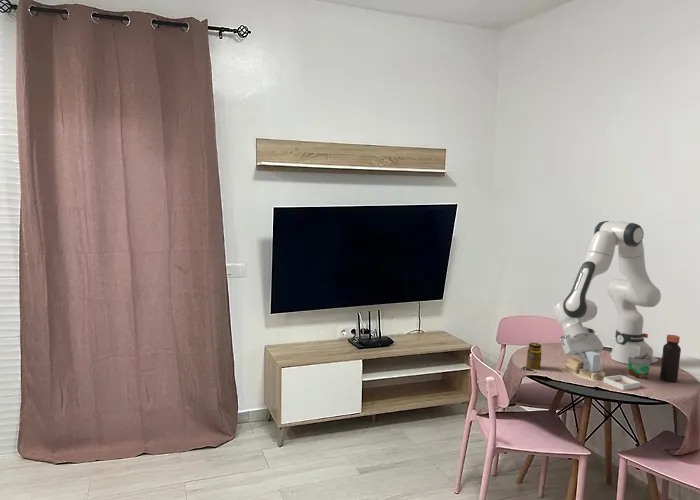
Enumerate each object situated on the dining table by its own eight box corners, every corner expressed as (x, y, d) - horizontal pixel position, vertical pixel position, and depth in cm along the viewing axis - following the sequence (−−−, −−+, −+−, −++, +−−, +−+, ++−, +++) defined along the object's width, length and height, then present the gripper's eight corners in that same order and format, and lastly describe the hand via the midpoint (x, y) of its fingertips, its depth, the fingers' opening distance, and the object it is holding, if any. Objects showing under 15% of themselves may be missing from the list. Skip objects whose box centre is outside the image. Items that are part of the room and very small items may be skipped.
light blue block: (589, 372, 258) (591, 351, 257) (598, 376, 253) (600, 354, 252) (582, 373, 256) (584, 351, 255) (591, 377, 252) (593, 355, 250)
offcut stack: (581, 367, 266) (582, 357, 265) (591, 371, 260) (592, 361, 260) (564, 369, 262) (565, 359, 261) (574, 373, 256) (575, 363, 256)
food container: (638, 383, 250) (640, 360, 249) (625, 378, 255) (628, 356, 254) (656, 379, 256) (658, 357, 254) (643, 375, 261) (646, 353, 260)
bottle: (679, 381, 255) (685, 336, 252) (672, 383, 251) (678, 339, 248) (664, 376, 260) (668, 333, 258) (656, 379, 256) (661, 335, 254)
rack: (580, 367, 269) (581, 360, 268) (612, 380, 252) (613, 372, 252) (558, 370, 263) (558, 363, 262) (589, 384, 247) (589, 376, 246)
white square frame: (619, 381, 251) (620, 374, 251) (639, 389, 242) (640, 382, 242) (603, 384, 247) (603, 377, 247) (622, 392, 238) (623, 385, 238)
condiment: (544, 370, 262) (546, 345, 261) (531, 373, 257) (533, 347, 256) (531, 366, 268) (533, 340, 267) (518, 368, 263) (520, 343, 262)
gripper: (562, 332, 255) (577, 361, 248) (596, 329, 264) (612, 356, 256) (554, 339, 260) (569, 367, 252) (588, 336, 268) (603, 362, 261)
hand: (591, 362), depth 254 cm, fingers closed on light blue block, 4 cm apart
